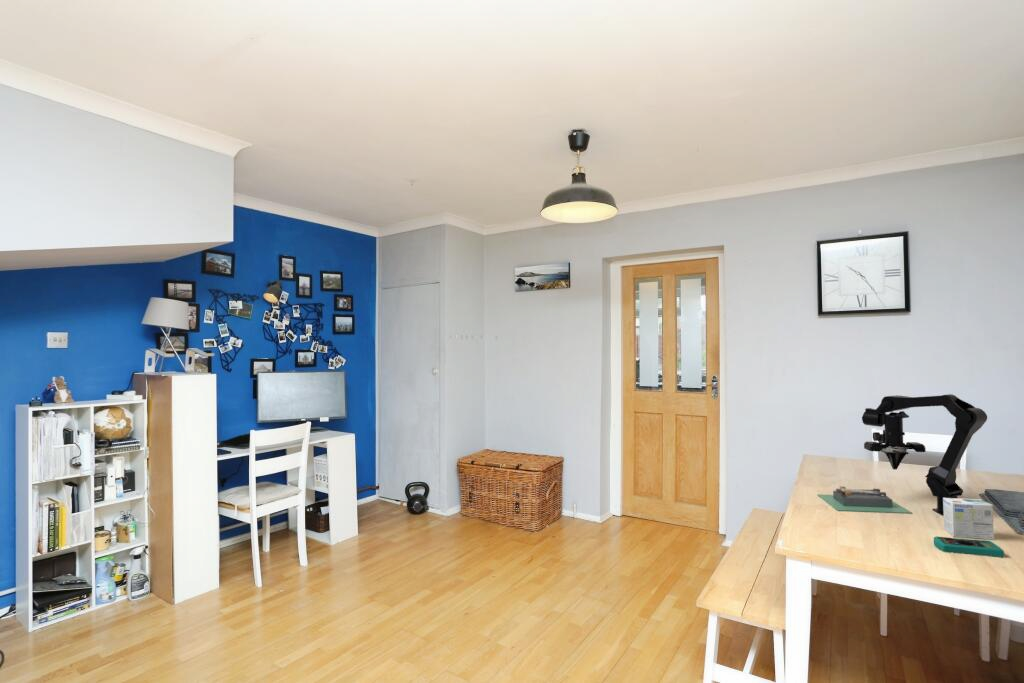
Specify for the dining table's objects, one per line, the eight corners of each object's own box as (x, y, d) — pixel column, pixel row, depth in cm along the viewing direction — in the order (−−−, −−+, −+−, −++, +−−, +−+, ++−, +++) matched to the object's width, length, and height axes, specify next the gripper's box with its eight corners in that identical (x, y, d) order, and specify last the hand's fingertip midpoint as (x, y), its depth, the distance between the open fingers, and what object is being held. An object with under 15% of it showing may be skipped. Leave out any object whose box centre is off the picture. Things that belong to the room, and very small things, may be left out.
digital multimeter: (931, 544, 161) (930, 534, 161) (992, 549, 156) (992, 539, 156) (940, 553, 155) (940, 543, 155) (1005, 559, 149) (1005, 549, 149)
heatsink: (892, 507, 194) (892, 493, 194) (844, 506, 197) (843, 492, 197) (879, 499, 203) (878, 486, 203) (833, 498, 207) (833, 484, 207)
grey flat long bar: (878, 495, 198) (879, 493, 198) (844, 492, 200) (844, 490, 200) (875, 493, 201) (875, 491, 201) (841, 490, 203) (841, 488, 203)
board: (912, 513, 188) (912, 512, 188) (837, 510, 193) (837, 509, 193) (884, 497, 207) (884, 496, 207) (817, 495, 212) (817, 494, 212)
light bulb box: (982, 532, 169) (981, 498, 169) (995, 540, 162) (994, 504, 162) (942, 530, 172) (941, 496, 172) (953, 537, 165) (952, 502, 165)
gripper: (909, 425, 209) (910, 465, 209) (857, 425, 213) (858, 463, 213) (925, 430, 198) (926, 471, 198) (870, 429, 202) (871, 470, 202)
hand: (894, 469), depth 203 cm, fingers closed
